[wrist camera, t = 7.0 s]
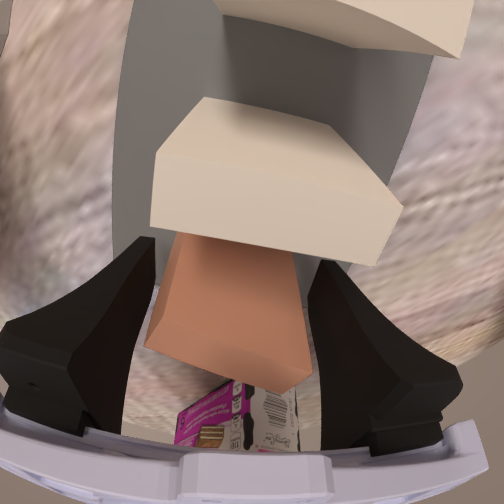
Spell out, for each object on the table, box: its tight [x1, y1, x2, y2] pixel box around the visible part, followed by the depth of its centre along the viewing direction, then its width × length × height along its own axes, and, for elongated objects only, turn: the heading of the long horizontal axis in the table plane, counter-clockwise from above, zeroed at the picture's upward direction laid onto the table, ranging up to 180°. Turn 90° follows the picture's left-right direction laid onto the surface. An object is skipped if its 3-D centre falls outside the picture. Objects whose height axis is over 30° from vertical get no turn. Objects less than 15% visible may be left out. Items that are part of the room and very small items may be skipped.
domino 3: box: [144, 231, 313, 394], centre depth 12 cm, size 2×5×7 cm, turn 56°
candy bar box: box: [174, 379, 300, 452], centre depth 18 cm, size 11×5×16 cm, turn 142°
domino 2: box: [150, 97, 403, 267], centre depth 9 cm, size 2×5×7 cm, turn 77°
